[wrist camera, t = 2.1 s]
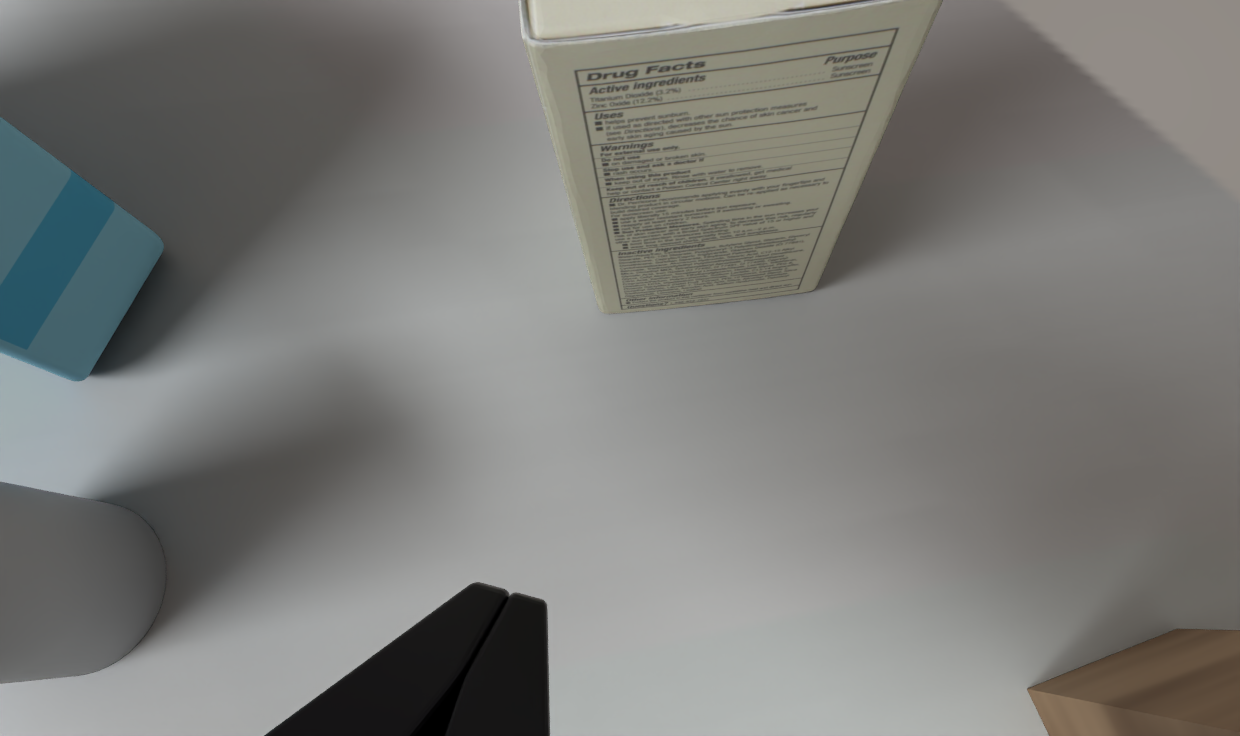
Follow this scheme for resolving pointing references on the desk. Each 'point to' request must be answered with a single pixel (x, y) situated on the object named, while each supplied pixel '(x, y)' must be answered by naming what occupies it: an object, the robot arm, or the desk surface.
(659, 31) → the skincare box
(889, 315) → the desk surface
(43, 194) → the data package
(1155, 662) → the walnut block
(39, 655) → the grey cylinder
